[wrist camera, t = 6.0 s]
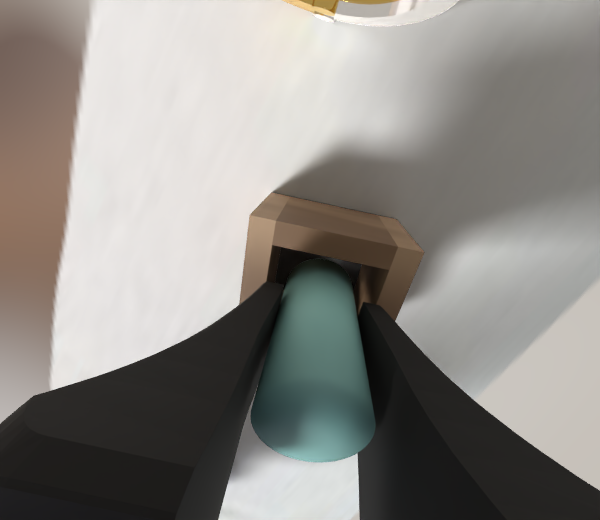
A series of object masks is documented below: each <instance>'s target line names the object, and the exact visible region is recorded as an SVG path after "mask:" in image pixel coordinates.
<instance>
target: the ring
mask: <svg viewBox="0 0 600 520" xmlns="http://www.w3.org/2000/svg"><path fill="white" fill-rule="evenodd" d="M283 1H285V2H287V3H289V4H292V5H294V6H297V7H299V8H302V9H304V10H307V11H310V12H312V13H313V16H315V17H316V18H319V19H321V20H324V21H327V22H334V21H335V20H337V21H341V22H346V23H351V24H357V25H365V26H382V27H384V26H401V25H408V24H413V23H417V22H421V21H424V20H427V19H430V18H433V17H435V16H437V15H439V14H441V13H443V12H445V11H447V10H448V9H450V8H451V7H452V6H454V5H455V4H456V3H457V2H458V1H459V0H283Z"/></svg>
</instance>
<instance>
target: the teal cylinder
mask: <svg viewBox="0 0 600 520" xmlns="http://www.w3.org/2000/svg"><path fill="white" fill-rule="evenodd" d="M251 423H252V426H253V429H254V431H255V433H256V434H257V435H258V437H259V438H260V439H261V440H262V441H263V442H264V443H265V444H266V445H267V446H269V447H270V448H272V449H273V450H275V451H277V452H278V453H280V454H283V455H285V456H287V457H290V458H293V459H297V460H302V461H308V462H331V461H337V460H341V459H345V458H348V457H350V456H352V455H355V454H356V453H358V452H360V451H361V450H362V449H364V448H365V447H366V446H367V445H368V444H369V442H370V441H371V439H372V438H373V435H374V433H375V417H374V411H373V405H372V399H371V393H370V387H369V381H368V376H367V370H366V364H365V358H364V352H363V346H362V340H361V335H360V329H359V323H358V317H357V311H356V305H355V299H354V294H353V288H352V282H351V279H350V277H349V275H348V273H347V272H346V271H345V269H344V268H343V267H341V266H340V265H339V264H337V263H335V262H333V261H330V260H327V259H310V260H307V261H304V262H302V263H300V264H298V265H297V266H296V267H295V268H294V269H293V270H292V271H291V272H290V274H289V276H288V278H287V282H286V285H285V289H284V292H283V296H282V300H281V303H280V307H279V311H278V314H277V318H276V322H275V325H274V329H273V333H272V336H271V340H270V344H269V347H268V351H267V355H266V358H265V362H264V365H263V369H262V373H261V376H260V380H259V384H258V387H257V391H256V395H255V398H254V402H253V406H252V409H251Z"/></svg>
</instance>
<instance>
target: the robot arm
mask: <svg viewBox="0 0 600 520" xmlns="http://www.w3.org/2000/svg"><path fill="white" fill-rule="evenodd" d="M283 286H284V285H283V284H278V283H273V282H269V281H266V282H265V283H263V284H262V285H261V286H260V287H259V288H258V289H257V290H256V291H255V292H254V293H253V294H252V295H250V296H249V297H248V298H247V299H246V300H245V301H243V302H242V303H241V304H240V305H238V306H237V307H236V308H235V309H233V310H232V311H230V312H229V313H228V314H226V315H225V316H223V317H222V318H220V319H219V320H218V321H216V322H215V323H213V324H212V325H210V326H208V327H207V328H205V329H204V330H202V331H200V332H198V333H197V334H195V335H193V336H191V337H190V338H188V339H186V340H184V341H182V342H180V343H178V344H176V345H174V346H171V347H169V348H167V349H165V350H163V351H161V352H159V353H157V354H154V355H152V356H150V357H147V358H145V359H142V360H140V361H137V362H135V363H132V364H130V365H127V366H124V367H122V368H119V369H116V370H114V371H111V372H108V373H105V374H102V375H99V376H97V377H93V378H90V379H87V380H84V381H81V382H77V383H74V384H71V385H68V386H65V387H62V388H58V389H55V390H52V391H49V392H46V393H42V394H38V395H35V396H33V397H32V398H30V399H29V400H28V401H27V402H26V403H25V404H23V405H22V406H21V407H19V408H18V409H17V410H16V411H15V412H14V413H12V414H11V415H10V416H9V417H8V418H6V419H5V420H4V421H3V422H2V423H1V424H0V520H218V518H219V514H220V510H221V506H222V503H223V499H224V495H225V491H226V488H227V484H228V480H229V476H230V473H231V469H232V465H233V461H234V458H235V454H236V450H237V447H238V443H239V439H240V436H241V432H242V428H243V425H244V422H245V419H246V416H247V413H248V410H249V407H250V405H251V402H252V399H253V396H254V394H255V391H256V388H257V385H258V383H259V380H260V376H261V373H262V369H263V365H264V362H265V358H266V355H267V351H268V347H269V344H270V340H271V336H272V333H273V329H274V325H275V322H276V318H277V314H278V311H279V306H280V301H281V296H282V291H283ZM358 323H359V329H360V335H361V340H362V346H363V352H364V358H365V364H366V370H367V376H368V381H369V387H370V393H371V399H372V405H373V411H374V417H375V433H374V435H373V438H372V439H371V441H370V442H369V444H368V445H367V446H366V447H365V448H364V449H362V450H361V451H360V452H358V474H359V509H360V520H600V491H599V490H598V489H596V488H594V487H593V486H591V485H590V484H588V483H587V482H585V481H583V480H582V479H580V478H579V477H577V476H576V475H574V474H573V473H572V472H570V471H569V470H567V469H566V468H564V467H563V466H561V465H560V464H558V463H557V462H555V461H554V460H553V459H551V458H550V457H548V456H547V455H545V454H544V453H542V452H541V451H539V450H538V449H537V448H535V447H534V446H533V445H531V444H530V443H528V442H527V441H526V440H524V439H523V438H522V437H520V436H519V435H517V434H516V433H515V432H513V431H512V430H511V429H510V428H508V427H507V426H506V425H504V424H503V423H502V422H500V421H499V420H498V419H497V418H495V417H494V416H493V415H491V414H490V413H489V412H488V411H486V410H485V409H484V408H483V407H481V406H480V405H479V404H478V403H477V402H475V401H474V400H473V399H472V398H471V397H469V396H468V395H467V394H466V393H465V392H464V391H463V390H461V389H460V388H459V387H458V386H457V385H456V384H455V383H453V382H452V381H451V380H450V379H449V378H448V377H447V376H446V375H445V374H444V373H443V372H442V371H441V370H440V369H439V368H438V367H437V366H436V365H435V364H434V363H433V362H432V361H431V360H430V359H429V358H428V357H427V356H426V355H425V354H424V353H423V352H422V351H421V350H420V349H419V348H418V347H417V346H416V345H415V344H414V343H413V342H412V340H411V339H410V338H409V337H408V336H407V335H406V334H405V333H404V331H403V330H402V329H401V328H400V327H399V326H398V325H397V323H396V322H395V321H394V320H393V319H392V318H391V317H390V315H389V314H388V313H387V312H386V311H385V310H384V309H383V308H382V307H381V306H380V305H376V304H372V303H367V302H363V303H362V306H361V309H360V312H359V315H358Z"/></svg>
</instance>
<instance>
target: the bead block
mask: <svg viewBox="0 0 600 520" xmlns="http://www.w3.org/2000/svg"><path fill="white" fill-rule="evenodd" d="M281 247H284V248H288V249H293V250H298V251H302V252H307V253H312V254H316V255H321V256H326V257H330V258H335V259H340V260H344V261H349V262H354V263H358V264H362V266H361V269H360V272H359V275H358V278H357V281H356V284H355V287H354V290H353V294H354V299H355V305H356V311H357V317H358V315H359V312H360V309H361V306H362V303H363V302H367V303H372V304H376V305H380V306H381V307H382V308H383V309H384V310H385V311H386V312H387V313H388V314H389V315H390V317H391V318H392V319H393V320H394V321H395V320H396V318H397V316H398V313H399V311H400V309H401V306H402V304H403V302H404V299H405V297H406V294H407V292H408V290H409V287H410V285H411V283H412V280H413V278H414V276H415V273H416V271H417V269H418V266H419V264H420V262H421V259H422V257H423V255H424V251H423V250H422V249H421V248H420V247H419V245H418V244H417V243H416V242H415V241H414V239H413V238H412V237H411V236H410V235H409V233H408V232H407V231H406V230H405V229H404V227H403V226H402V225H401V224H400V223H399V221H398V220H397V219H393V218H388V217H384V216H379V215H374V214H370V213H365V212H360V211H356V210H351V209H346V208H342V207H337V206H332V205H328V204H323V203H318V202H314V201H309V200H304V199H300V198H295V197H290V196H286V195H281V194H276V193H272V192H271V194H270V195H269V196H268V197H267V198H266V199H265V200H264V201H263V202H262V203H261V204H260V205H259V206H258V207H257V208H256V209H255V210H254V211H253V212H252V213H251V214H250V217H249V226H248V234H247V243H246V251H245V260H244V269H243V277H242V286H241V294H240V303H239V305H240V304H241V303H242V302H243V301H245V300H246V299H247V298H248V297H249V296H250V295H252V294H253V293H254V292H255V291H256V290H257V289H258V288H259V287H260V286H261V285H262V284H263V283H265V282H266V281H269V282H273V283H275V280H276V274H277V268H278V263H279V257H280V252H281ZM283 292H284V290H283V291H282V296H283ZM282 296H281V300H282ZM280 303H281V301H280ZM279 307H280V306H279Z"/></svg>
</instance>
